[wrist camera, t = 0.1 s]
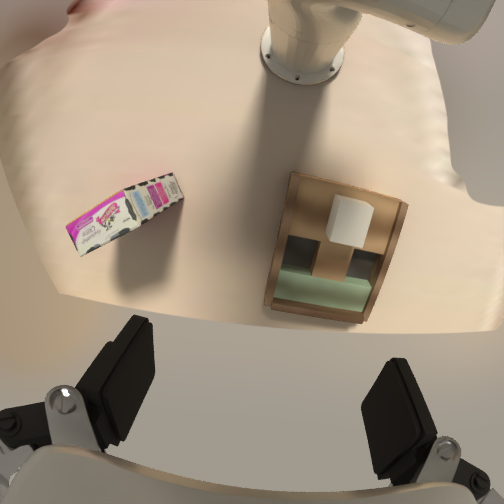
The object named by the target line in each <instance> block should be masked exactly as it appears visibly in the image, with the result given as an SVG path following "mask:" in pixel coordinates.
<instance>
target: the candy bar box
mask: <svg viewBox="0 0 504 504" xmlns="http://www.w3.org/2000/svg"><path fill="white" fill-rule="evenodd" d="M183 198H184V196H183V194H182V192H181V190H180V188H179V185H178V183H177V181H176V178H175V176H174V174H173V173H170V174H167V175H163V176H160V177H157V178H154V179H151V180H148V181H145V182H142V183H139V184H136V185H133V186H131V187H128V188H125V189H122V190H120V191H119V192H117V193H115V194H114V195H112V196H110V197H109V198H107V199H106V200H104V201H103V202H101V203H99V204H98V205H96V206H95V207H93V208H91V209H90V210H88V211H87V212H85V213H84V214H82V215H81V216H79V217H78V218H76V219H75V220H73V221H72V222H70V223H69V224H67V225H66V226H65V227H66V229H67V231H68V233H69V235H70V237H71V239H72V241H73V243H74V245H75V247H76V250H77V251H78V253H79V255H80V257H82V256H84V255H85V254H87V253H89V252H91V251H93V250H95V249H97V248H99V247H101V246H103V245H105V244H107V243H109V242H111V241H113V240H115V239H117V238H118V237H120V236H122V235H124V234H126V233H128V232H130V231H132V230H134V229H136V228H138V227H140V226H141V225H142V224H144V223H145V222H147V221H148V220H150V219H151V218H153V217H154V216H156V215H157V214H159V213H161V212H162V211H164V210H165V209H167V208H168V207H170V206H172V205H173V204H175V203H176V202H178V201H180V200H181V199H183Z"/></svg>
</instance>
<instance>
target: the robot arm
mask: <svg viewBox="0 0 504 504" xmlns="http://www.w3.org/2000/svg"><path fill="white" fill-rule="evenodd" d="M494 2H495V0H268V11H269V24H270V25H269V26H268V27H267V28H266V30H265V32H264V33H263V36H262V39H261V52H262V56H263V59H264V61H265V63H266V65H267V66H268V67H269V69H270V70H271V71H272V72H273V73H275V74H276V75H277V76H279V77H280V78H282V79H284V80H286V81H288V82H291V83H295V84H300V85H312V84H317V83H321V82H324V81H326V80H328V79H329V78H331V77H332V76H333V75H334V74H335V73H336V72H337V71H338V70H339V68H340V67H341V65H342V63H343V60H344V54H345V53H344V44H345V43H346V41H347V40H348V38H349V37H350V36H351V34H352V33H353V31H354V30H355V29H356V27H357V26H358V24H359V22H360V20H361V17H362V13H365V14H371V15H374V16H377V17H379V18H382V19H385V20H388V21H390V22H393V23H395V24H398V25H400V26H403V27H405V28H407V29H410V30H412V31H414V32H417V33H419V34H421V35H423V36H425V37H428V38H430V39H433V40H435V41H437V42H441V43H444V44H451V45H454V44H460V43H464V42H466V41H467V40H469V39H471V38H472V37H473V36H474V35H475V34H476V33H477V32H478V31H479V29H480V28H481V27H482V25H483V24H484V22H485V20H486V19H487V17H488V15H489V13H490V11H491V9H492V7H493V5H494ZM268 56H269V57H270V58H269V59H268V58H267V57H268ZM330 69H332V72H331V71H330ZM295 78H298V79H299V80H296V79H295ZM154 375H155V361H154V345H153V325H152V323H150V322H149V320H148V318H145V317H142V316H138V315H133V316H132V317H131V318H130V320H129V321H128V322H127V324H126V325H125V326H124V328H123V329H122V331H121V332H120V333H119V335H118V336H117V337H116V339H115V340H114V342H111V341H109V342H107V343H106V344H105V346H104V347H103V349H102V350H101V351H100V353H99V354H98V355H97V357H96V358H95V360H94V361H93V362H92V364H91V365H90V367H89V368H88V369H87V371H86V372H85V374H84V375H83V377H82V378H81V379H80V381H79V382H78V384H77V385H76V387H75V388H74V387H72V386H68V385H60V386H56V387H54V388H52V389H51V390H50V391H49V392H48V393H47V395H46V397H45V402H40V403H35V404H30V405H25V406H19V407H13V408H8V409H4V410H2V411H0V504H504V499H503V498H502V497H501V496H500V495H499V494H498V493H497V492H496V491H495V489H494V488H492V489H490V480H489V477H488V475H487V474H486V473H485V472H483V471H482V470H480V469H479V468H477V467H475V466H473V465H471V464H470V463H468V462H467V461H465V460H463V459H461V458H460V457H461V448H460V446H459V444H458V443H457V442H456V440H454V439H453V438H451V437H448V436H442V437H439V438H438V439H437V436H436V434H437V433H438V432H437V430H436V427H435V425H434V422H433V420H432V417H431V415H430V412H429V410H428V407H427V405H426V402H425V400H424V398H423V395H422V393H421V391H420V388H419V386H418V384H417V382H416V379H415V377H414V375H413V373H412V371H411V369H410V366H409V364H408V362H407V360H406V359H405V358H392V359H390V361H387V362H386V364H385V365H384V367H383V369H382V371H381V372H380V374H379V376H378V378H377V379H376V381H375V383H374V385H373V386H372V388H371V389H370V391H369V393H368V394H367V396H366V397H365V399H364V400H363V402H362V405H361V411H362V416H363V420H364V425H365V430H366V434H367V439H368V444H369V448H370V454H371V459H372V465H373V470H374V472H375V474H377V476H378V480H381V479H389V478H390V480H391V483H390V485H389V486H388V487H385V488H376V489H367V490H356V491H340V492H286V491H270V490H259V489H249V488H241V487H234V486H227V485H221V484H215V483H210V482H205V481H200V480H195V479H191V478H186V477H182V476H178V475H174V474H171V473H167V472H163V471H159V470H156V469H152V468H149V467H146V466H142V465H139V464H136V463H133V462H130V461H127V460H124V459H121V458H118V457H115V456H112V455H109V454H107V453H106V450H105V449H106V448H108V446H109V444H113V445H115V446H118V445H119V443H120V441H125V439H126V438H127V435H128V433H129V431H130V429H131V426H132V424H133V422H134V420H135V417H136V415H137V413H138V411H139V409H140V407H141V404H142V402H143V400H144V398H145V396H146V394H147V391H148V389H149V387H150V385H151V383H152V381H153V379H154ZM19 467H20V469H18V468H19ZM17 471H18V472H17ZM15 472H17V473H16V475H15V477H14V478H13V480H12V482H11V484H10V486H9V479H10V476H11V475H13V473H15Z"/></svg>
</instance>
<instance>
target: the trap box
mask: <svg viewBox="0 0 504 504" xmlns="http://www.w3.org/2000/svg"><path fill="white" fill-rule="evenodd" d="M335 194H337V195H341V196H345V197H349V198H353V199H357V200H361V201H365V202H367V203H368V204H370V205H371V206H372V207H374V211H373V214H372V218H371V221H370V225H369V228H368V232H367V235H366V238H365V242H364V245H363V248H359V247H354V246H349V245H345V244H340V243H336V242H331V241H329V239H328V237H327V235H326V233H325V231H326V228H327V224H328V220H329V216H330V212H331V208H332V204H333V200H334V196H335ZM407 209H408V204H407V203H405V202H403V201H401V200H399V199H397V198H393V197H390V196H386V195H383V194H380V193H376V192H372V191H369V190H365V189H361V188H358V187H354V186H350V185H346V184H342V183H338V182H334V181H330V180H326V179H322V178H317V177H313V176H309V175H304V174H300V173H295V172H291V176H290V180H289V185H288V190H287V195H286V200H285V204H284V209H283V214H282V218H281V223H280V228H279V232H278V237H277V241H276V246H275V251H274V255H273V260H272V264H271V269H270V273H269V277H268V282H267V286H266V291H265V298H264V305H268V306H271V310H277V311H282V312H288V313H294V314H300V315H306V316H312V317H318V318H324V319H331V320H337V321H344V322H351V323H358V324H362V323H363V321H366V322H367V320H368V318H369V315H370V313H371V311H372V308H373V306H374V304H375V301H376V299H377V296H378V294H379V291H380V289H381V286H382V284H383V281H384V278H385V276H386V273H387V270H388V268H389V265H390V262H391V259H392V256H393V253H394V250H395V248H396V245H397V242H398V238H399V235H400V232H401V229H402V226H403V222H404V219H405V216H406V212H407Z"/></svg>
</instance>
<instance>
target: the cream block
mask: <svg viewBox="0 0 504 504" xmlns="http://www.w3.org/2000/svg"><path fill="white" fill-rule="evenodd" d="M373 211H374V207H372V206H371V205H370V204H368V203H367V202H365V201H361V200H357V199H353V198H349V197H345V196H341V195H337V194H335V196H334V200H333V204H332V208H331V212H330V216H329V220H328V224H327V228H326V231H325V233H326V235H327V237H328V239H329V241H331V242H336V243H340V244H345V245H349V246H354V247H359V248H363V245H364V242H365V238H366V235H367V232H368V228H369V225H370V221H371V218H372V214H373Z"/></svg>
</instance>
